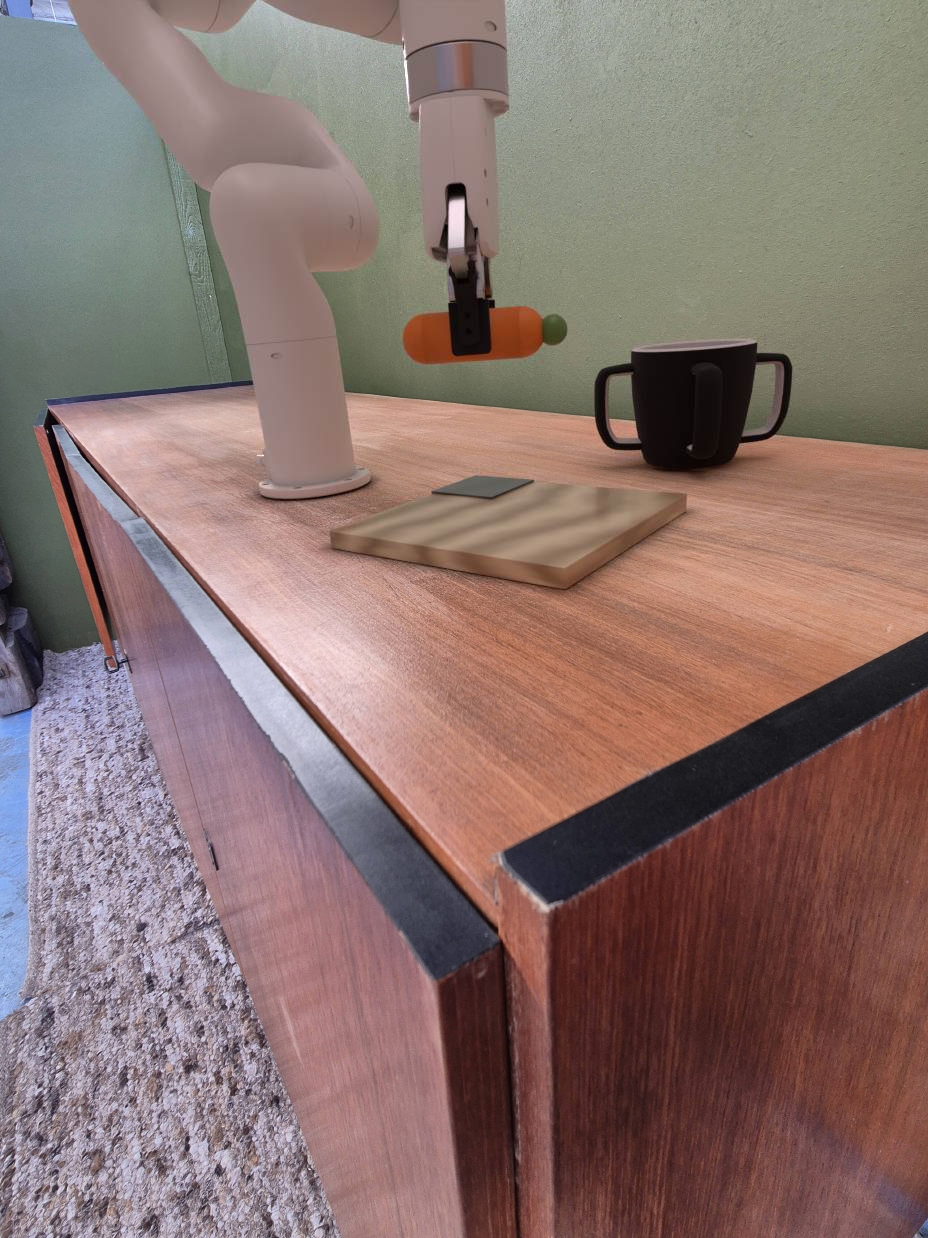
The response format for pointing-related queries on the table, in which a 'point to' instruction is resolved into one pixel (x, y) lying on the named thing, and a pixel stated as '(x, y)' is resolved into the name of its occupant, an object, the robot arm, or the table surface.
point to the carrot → (510, 335)
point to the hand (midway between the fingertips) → (475, 350)
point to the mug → (693, 401)
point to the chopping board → (514, 528)
